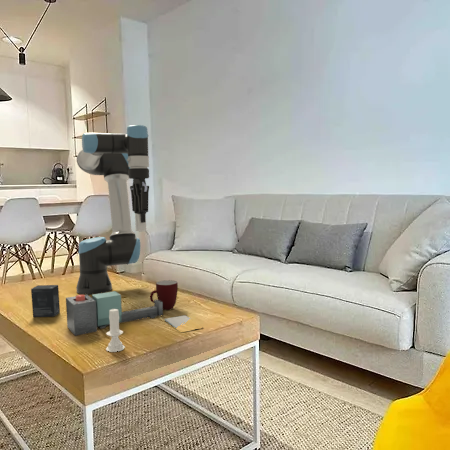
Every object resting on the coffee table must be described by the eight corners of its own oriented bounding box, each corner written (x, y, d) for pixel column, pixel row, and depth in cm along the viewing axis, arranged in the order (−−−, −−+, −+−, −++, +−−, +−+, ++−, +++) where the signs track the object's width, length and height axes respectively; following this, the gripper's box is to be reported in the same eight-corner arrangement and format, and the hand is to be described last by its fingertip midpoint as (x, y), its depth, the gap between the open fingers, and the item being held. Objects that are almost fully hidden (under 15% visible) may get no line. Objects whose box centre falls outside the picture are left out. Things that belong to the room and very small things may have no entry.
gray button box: (67, 327, 146) (65, 297, 145) (88, 323, 150) (87, 294, 149) (74, 335, 138) (73, 304, 137) (97, 331, 141) (95, 301, 140)
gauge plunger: (75, 306, 143) (74, 295, 143) (84, 304, 145) (83, 294, 144) (77, 308, 141) (77, 297, 141) (86, 306, 142) (85, 296, 142)
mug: (155, 314, 159) (154, 287, 158) (147, 308, 166) (146, 282, 165) (181, 309, 164) (181, 283, 163) (173, 304, 171) (172, 279, 170)
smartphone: (180, 331, 138) (163, 318, 151) (180, 334, 138) (163, 321, 151) (204, 327, 142) (185, 314, 155) (204, 330, 142) (185, 317, 155)
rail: (90, 324, 148) (89, 310, 148) (157, 312, 161) (156, 298, 161) (95, 329, 143) (94, 314, 143) (164, 316, 156) (163, 302, 156)
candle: (102, 351, 124) (100, 310, 123) (110, 344, 129) (108, 305, 128) (120, 352, 123) (118, 311, 122) (127, 345, 128) (126, 305, 127)
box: (60, 312, 163) (58, 284, 162) (54, 317, 157) (52, 288, 156) (39, 312, 163) (37, 284, 162) (32, 317, 158) (30, 288, 156)
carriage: (93, 321, 149) (91, 294, 148) (116, 317, 153) (115, 291, 152) (98, 326, 144) (97, 298, 143) (122, 322, 148) (120, 294, 147)
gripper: (121, 168, 167) (124, 229, 169) (136, 167, 154) (139, 233, 156) (140, 168, 171) (142, 228, 173) (156, 167, 158) (158, 231, 160)
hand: (140, 230), depth 165 cm, fingers open, 2 cm apart
